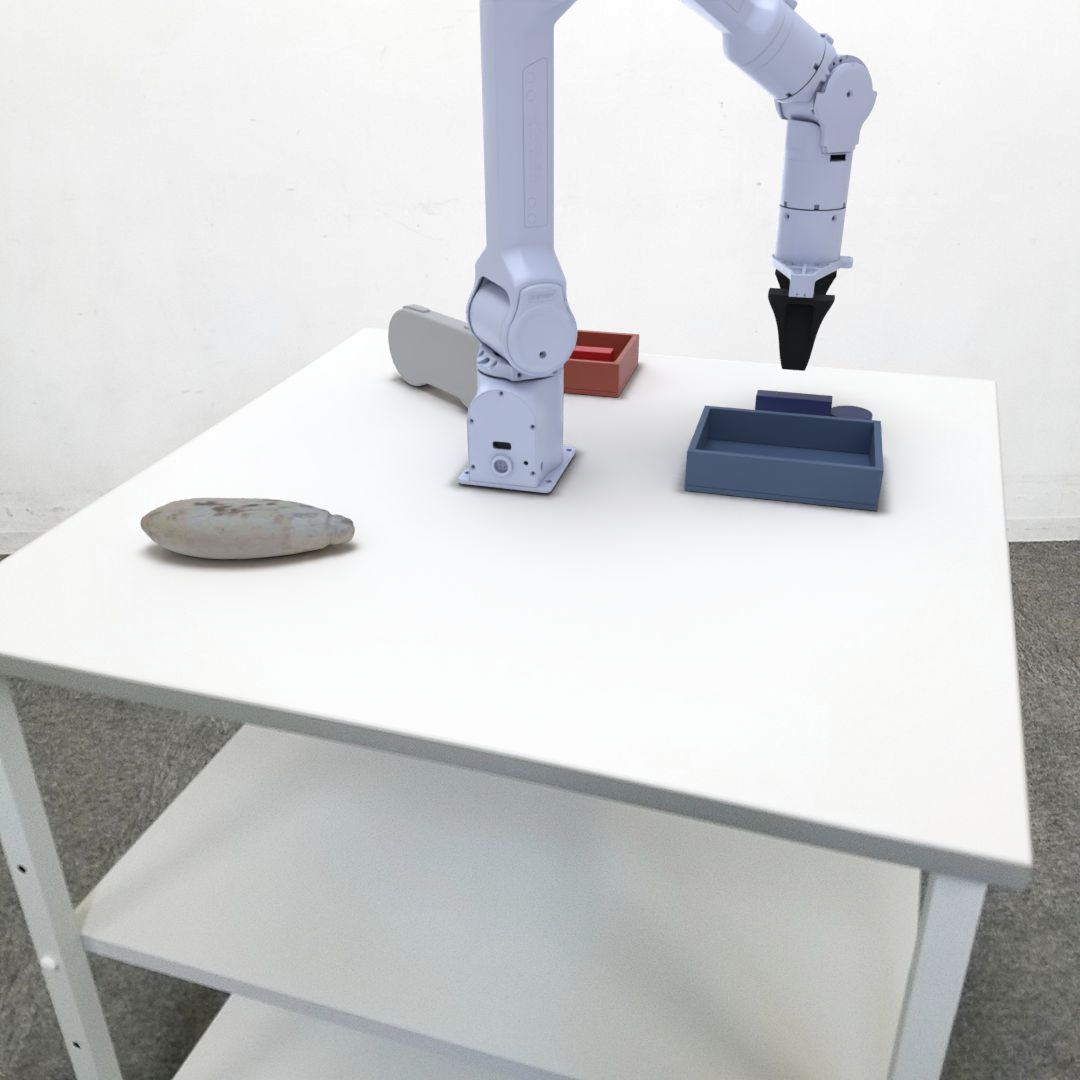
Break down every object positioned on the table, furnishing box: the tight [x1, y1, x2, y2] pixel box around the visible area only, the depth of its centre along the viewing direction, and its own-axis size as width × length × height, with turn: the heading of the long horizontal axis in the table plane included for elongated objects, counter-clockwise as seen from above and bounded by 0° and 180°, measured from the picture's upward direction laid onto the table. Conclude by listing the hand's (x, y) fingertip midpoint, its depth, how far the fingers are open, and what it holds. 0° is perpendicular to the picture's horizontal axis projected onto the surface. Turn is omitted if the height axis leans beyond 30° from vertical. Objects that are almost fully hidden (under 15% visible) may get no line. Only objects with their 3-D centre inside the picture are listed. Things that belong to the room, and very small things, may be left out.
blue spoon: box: [754, 389, 874, 420], centre depth 98 cm, size 11×4×3 cm, turn 75°
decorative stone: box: [140, 497, 356, 560], centre depth 75 cm, size 6×16×3 cm, turn 93°
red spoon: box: [569, 346, 614, 362], centre depth 111 cm, size 11×4×3 cm, turn 75°
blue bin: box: [684, 405, 885, 512], centre depth 87 cm, size 11×15×4 cm
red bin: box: [563, 329, 640, 398], centre depth 111 cm, size 11×15×4 cm
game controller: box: [387, 303, 480, 410], centre depth 103 cm, size 20×2×8 cm, turn 39°
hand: (795, 356), depth 96 cm, fingers open, 7 cm apart
